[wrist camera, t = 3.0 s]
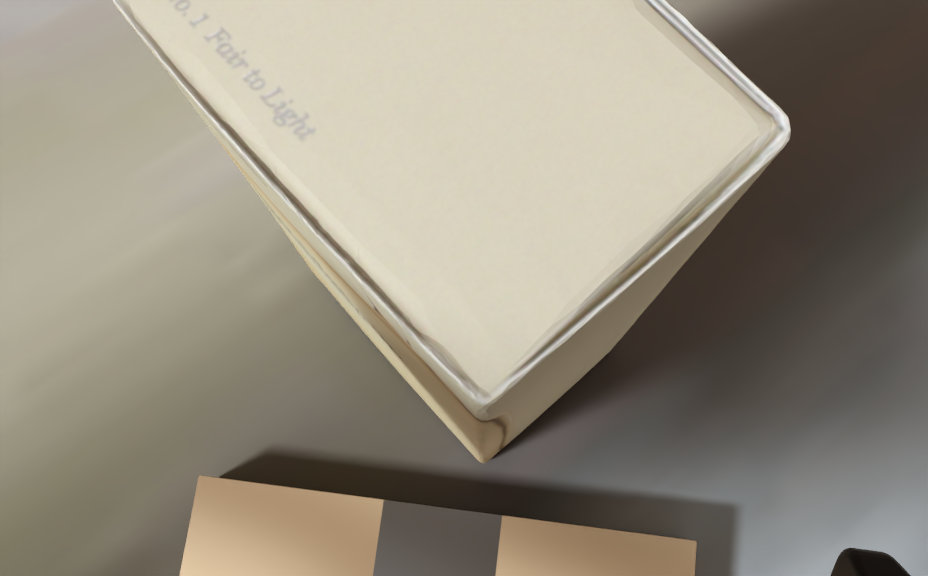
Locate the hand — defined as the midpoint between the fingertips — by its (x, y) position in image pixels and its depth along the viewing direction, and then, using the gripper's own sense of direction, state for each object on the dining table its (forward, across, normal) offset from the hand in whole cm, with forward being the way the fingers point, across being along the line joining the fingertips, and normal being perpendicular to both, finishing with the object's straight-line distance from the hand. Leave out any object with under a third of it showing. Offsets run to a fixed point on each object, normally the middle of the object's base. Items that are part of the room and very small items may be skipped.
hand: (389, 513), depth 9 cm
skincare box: (+11, 0, +5) cm, 12 cm away
